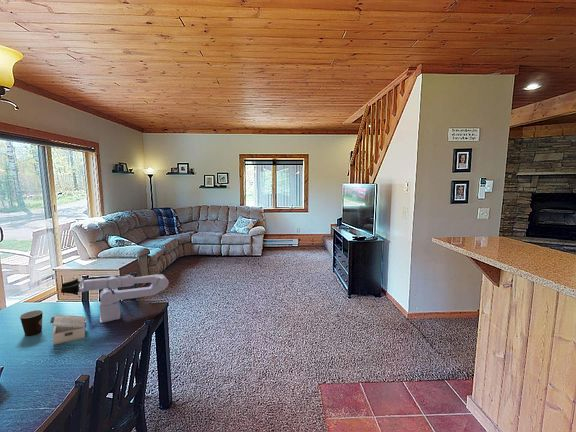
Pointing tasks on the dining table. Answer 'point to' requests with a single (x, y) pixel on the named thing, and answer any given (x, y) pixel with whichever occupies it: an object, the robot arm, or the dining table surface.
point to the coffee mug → (32, 322)
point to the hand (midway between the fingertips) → (61, 288)
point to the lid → (68, 321)
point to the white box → (68, 334)
